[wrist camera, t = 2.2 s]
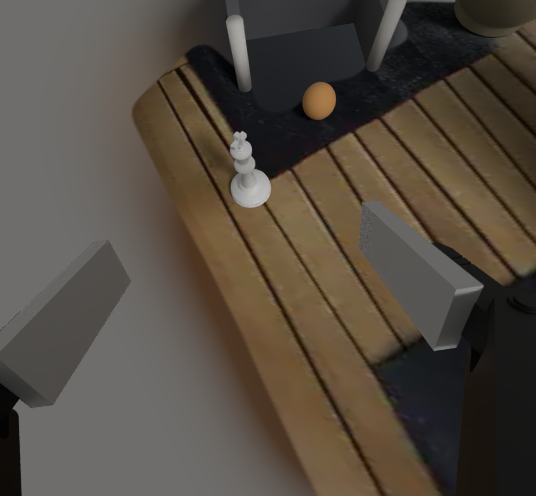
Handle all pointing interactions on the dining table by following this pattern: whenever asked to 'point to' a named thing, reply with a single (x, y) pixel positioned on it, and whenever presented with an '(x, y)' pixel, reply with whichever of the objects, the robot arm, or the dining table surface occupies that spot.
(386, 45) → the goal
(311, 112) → the ball
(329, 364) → the dining table surface
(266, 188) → the chess piece
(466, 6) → the planter bowl
